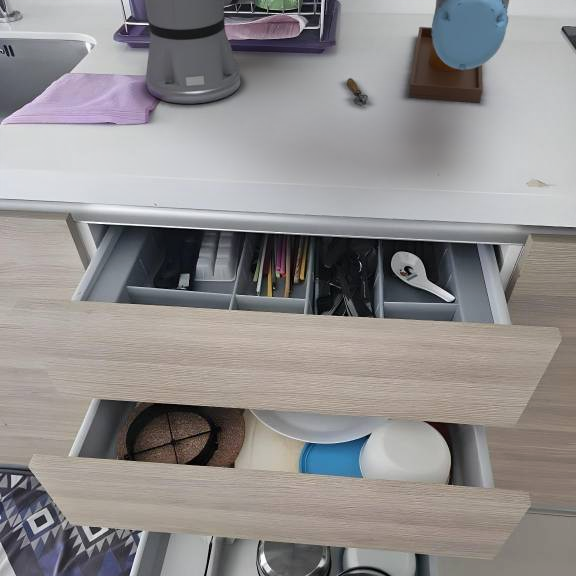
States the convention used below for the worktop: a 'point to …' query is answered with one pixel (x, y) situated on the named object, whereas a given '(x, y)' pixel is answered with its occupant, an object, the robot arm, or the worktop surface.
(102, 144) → the worktop surface
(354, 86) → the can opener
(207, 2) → the robot arm
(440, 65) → the amber bottle middle
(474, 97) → the tray
